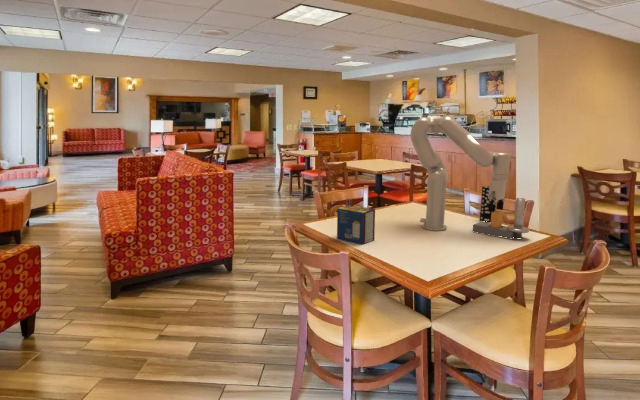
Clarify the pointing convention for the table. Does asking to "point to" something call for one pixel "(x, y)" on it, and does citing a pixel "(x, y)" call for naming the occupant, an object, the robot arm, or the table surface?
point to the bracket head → (492, 230)
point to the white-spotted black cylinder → (485, 205)
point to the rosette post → (518, 219)
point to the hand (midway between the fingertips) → (495, 210)
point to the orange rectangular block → (496, 219)
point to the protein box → (355, 224)
